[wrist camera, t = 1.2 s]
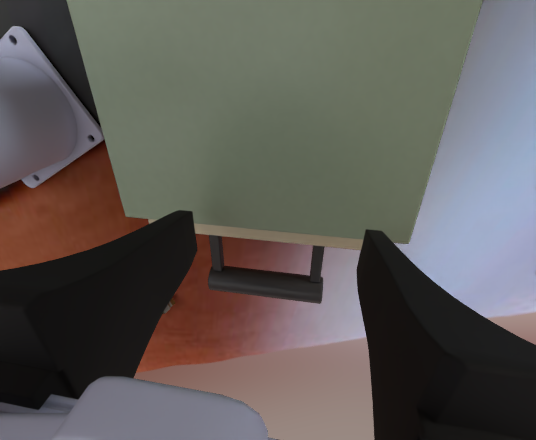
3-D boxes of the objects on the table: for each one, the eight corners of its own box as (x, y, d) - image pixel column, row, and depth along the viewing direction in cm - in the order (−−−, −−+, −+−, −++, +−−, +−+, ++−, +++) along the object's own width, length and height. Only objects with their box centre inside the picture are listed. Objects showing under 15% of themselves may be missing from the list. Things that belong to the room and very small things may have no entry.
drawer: (357, 256, 22) (367, 323, 17) (200, 240, 24) (165, 296, 19) (432, -114, 12) (512, -233, 7) (156, -97, 14) (54, -183, 9)
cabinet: (380, 175, 20) (409, 245, 13) (188, 163, 22) (125, 217, 15) (458, -186, 12) (637, -498, 5) (145, -157, 14) (-33, -357, 7)
